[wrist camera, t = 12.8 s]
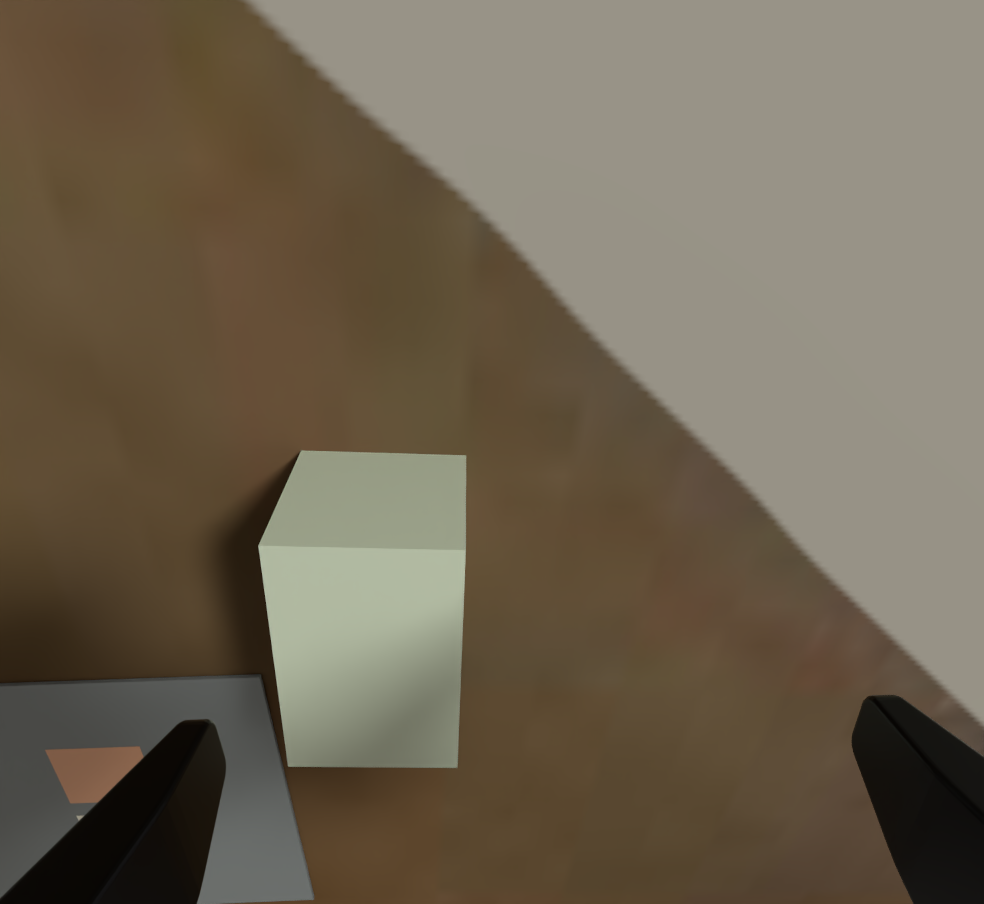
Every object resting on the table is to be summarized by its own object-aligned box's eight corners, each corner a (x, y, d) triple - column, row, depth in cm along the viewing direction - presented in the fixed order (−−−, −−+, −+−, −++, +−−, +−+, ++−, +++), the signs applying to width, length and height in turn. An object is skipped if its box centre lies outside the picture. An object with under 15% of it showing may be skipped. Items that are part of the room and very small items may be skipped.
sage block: (466, 453, 21) (465, 550, 17) (459, 647, 25) (457, 767, 21) (302, 448, 21) (258, 545, 17) (319, 645, 25) (288, 766, 20)
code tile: (261, 673, 25) (259, 677, 25) (314, 894, 32) (313, 899, 32) (-128, 686, 25) (-132, 690, 25) (7, 907, 32) (4, 912, 32)
